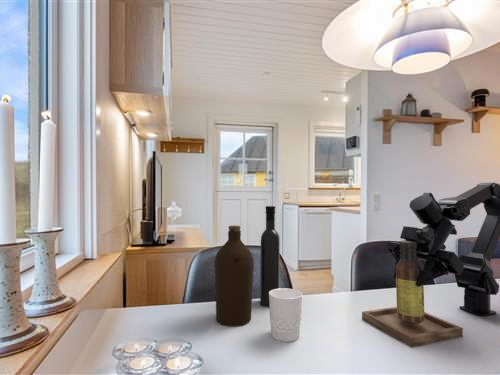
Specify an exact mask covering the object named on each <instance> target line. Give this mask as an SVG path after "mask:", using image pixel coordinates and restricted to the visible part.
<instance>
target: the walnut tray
mask: <svg viewBox="0 0 500 375" xmlns="http://www.w3.org/2000/svg"><path fill="white" fill-rule="evenodd" d="M361 320H362V321H364V322H366V323H368V324H369V325H371V326H373V327H375V328H376V329H378V330H380V331H382V332H384V333H385V334H388V335H390V336H391V337H392V338H395V339H396V340H398V341H400V342H402V344H403V343H404V344H405V345H407V346H409V347H410V348H413V347H419V346H425V345H428V344H432V343H433V344H434V343H439V342H443V341H447V340H449V341H450V340H454V339H458V338H462V337H463V336H464V332H463V331H464V330H463V329H464V328H463V327H461V326H459V325H456V324H454V323H452V322H449V321H446V320H444V319H442V318H440V317H437V316H435V315H433V314H430V313H427V312H425V311H424V321H423V322H422V323H419V324H417V323H415V324H414V323H407V322H404V321H402V320H400V319H399V318H398V312H397V306H393V307H386V308H380V309H379V308H378V309H372V310H371V309H370V310H365V311H361Z"/></svg>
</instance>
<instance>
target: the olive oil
mask: <svg viewBox="0 0 500 375" xmlns="http://www.w3.org/2000/svg"><path fill="white" fill-rule="evenodd" d="M227 238H228V239H227V241H226V242H225V243H224V244H223V245H222V246H221V247H220V249H219V250H218V251H217V253H216V254H215V258H214V264H213V266H214V285H215V286H214V287H215V288H214V289H215V291H214V292H215V296H214V298H215V299H214V300H215V319H216V320H215V321H216V322H217V323H218V324H220V325H222V326H226V327H240V326H244V325H247V324H248V323H250V321H251V320H252V302H253V281H254V268H255V267H254V264H255V261H254V256H253V254H252V252H251V250H250V248H248V247H247V246H246V245H245V243H244V242H243V241H242V240H241V226H240V225H229V226H228V232H227Z"/></svg>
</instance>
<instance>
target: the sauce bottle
mask: <svg viewBox="0 0 500 375" xmlns="http://www.w3.org/2000/svg"><path fill="white" fill-rule="evenodd" d="M398 243H399V246H400V252H401V255H400V257H401V259H400V261H399V262H398V264H397V266H396V280H395V286H396V287H395V291H396V292H395V293H396V307H397V312H398V318H399V319H400V320H402V321H404V322H407V323H414V324H415V323H417V324H419V323H422V322H423V321H424V312H425V296H424V295H425V294H424V291H425V288H424V284H423V285H422V286H420V287H418V286H417V285H416V281H417V279H418V277H419V275H420V274H421V272H422V270H423V269H422V268H421V265H420V262H419V259H417V251H416V250H417V249H416V248H417V242H416V241H408V240H405V239H402V240H399V242H398Z"/></svg>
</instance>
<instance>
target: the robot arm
mask: <svg viewBox="0 0 500 375" xmlns="http://www.w3.org/2000/svg"><path fill="white" fill-rule="evenodd" d="M480 204H483V208H484V210H485V211H484V212H485V213H486V216H485V218H484V220H483V222H482V225H481V227H480V230H479V231H478V234H477V237H476V239H475V242H474V244H473V246H472V250H471V252H470V253H469V254H467V255H465V254H461V255H460V256H459V257H458V255H457V254H456V253H455V251H450V250H446V249H447V246H446V244H445V243H446V241H447V240H448V238H449V237H450V235H453V236H454V235H455V236H456V235H457V234H458V231H457V229H456V225H455V224H453V223H452V221H454V222H455V221H456V222H462V221H465V220H466V219H467V218H468V217H469V216H470V215H471V210H472V209H473V208H475V207H477V206H479V205H480ZM409 209H410V210H411V211H412V212H413V214H414V215H415V216H416V218H417V219H418V221H419V222H420V223H421V224H422V225H425V226H424V227H422V228H419V227H416V226H415V227H414V226H406V225H405V226H403V227H402V229H401V233H400V239H401V240H408V241H416V242H417V248H416V249H417V250H416V251H417V259H418V260H421V261H425V265H424V267H423V269H421V270H422V272H421V274H420V275H419V277H418V279H417V281H416V285H417V286H418V287H420V286H422V285H423V286H424V285H425V284H427V283H429V282H431V281H433V280H435V279H438V278H440V277H443V276H444V275H445V276H448V275H449V274H452V275H454V277H455V282H456V286H457V287H458V288H462V289H463V290H464V293H463V305H460V306H459V309H460V310H462V311H466V312H467V313H471V314H475V315H477V316H480V317H484V316H485V317H486V316H489V315H490V316H491V315H496V314H497V311H496V310H492V309H491V308H492V307H491V295H492V296H497V294H499V290H500V285H499V283H498V282H497V280H496V279H495V278H494V276H493V275H494V270H493V266H492V264H491V260H492V257H493V255H494V252H495V250H496V248H497V245H498V243H499V240H500V184H499V183H496V182H480V183H478V184H476V186H474V187H472V188H470V189H467V191H465V192H463V193H461V194H459V195H457V196H453V197H446V198H441V199H437V200H436V198H435V197H434V195H433V193H432V192H423V193H422V195H419V196H416V197H415V198H413V199H412V200H410V202H409ZM385 249H386V250H387V252H388V253H389V254H390V255H391V257H392V258H393V259H394V260H395V266H394V272H393V279H394V280H395V281H396V266H397V264H398V262H399V261H400V259H401V257H400V255H401V252H400V246H399V242H396V241H388V243H387V244H386V246H385Z"/></svg>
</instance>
